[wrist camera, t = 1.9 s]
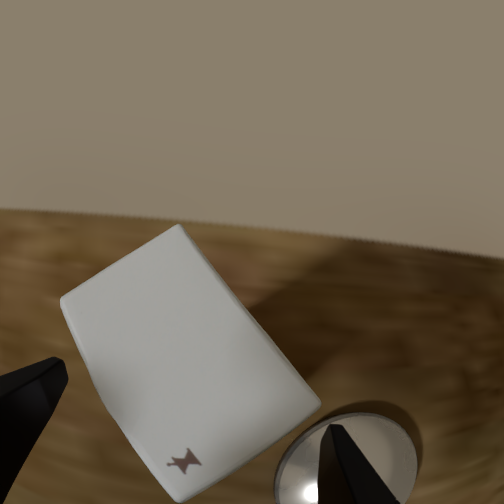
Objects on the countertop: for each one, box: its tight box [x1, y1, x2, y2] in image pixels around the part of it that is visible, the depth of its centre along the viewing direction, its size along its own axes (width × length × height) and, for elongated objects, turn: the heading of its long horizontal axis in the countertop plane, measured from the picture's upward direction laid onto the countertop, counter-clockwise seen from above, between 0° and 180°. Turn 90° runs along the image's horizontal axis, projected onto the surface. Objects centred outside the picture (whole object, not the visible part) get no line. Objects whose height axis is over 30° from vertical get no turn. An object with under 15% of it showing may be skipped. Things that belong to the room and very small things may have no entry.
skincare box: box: [60, 224, 321, 503], centre depth 12 cm, size 6×4×12 cm
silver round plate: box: [273, 412, 417, 504], centre depth 14 cm, size 9×9×1 cm
